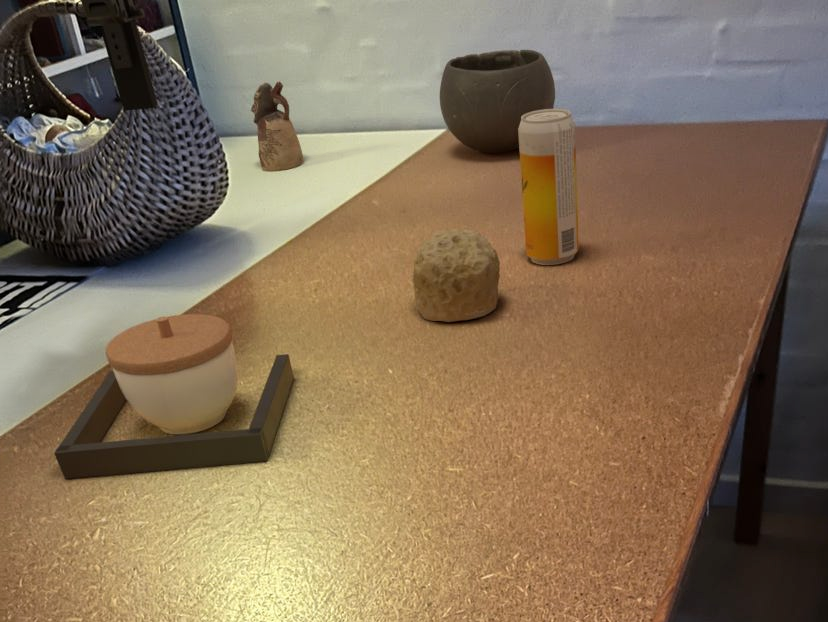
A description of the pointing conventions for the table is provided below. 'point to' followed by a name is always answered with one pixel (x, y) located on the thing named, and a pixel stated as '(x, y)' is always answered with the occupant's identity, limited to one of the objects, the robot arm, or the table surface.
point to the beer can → (549, 185)
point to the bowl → (494, 96)
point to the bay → (172, 452)
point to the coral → (456, 276)
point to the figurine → (275, 130)
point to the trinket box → (177, 371)
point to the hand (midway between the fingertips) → (140, 107)
